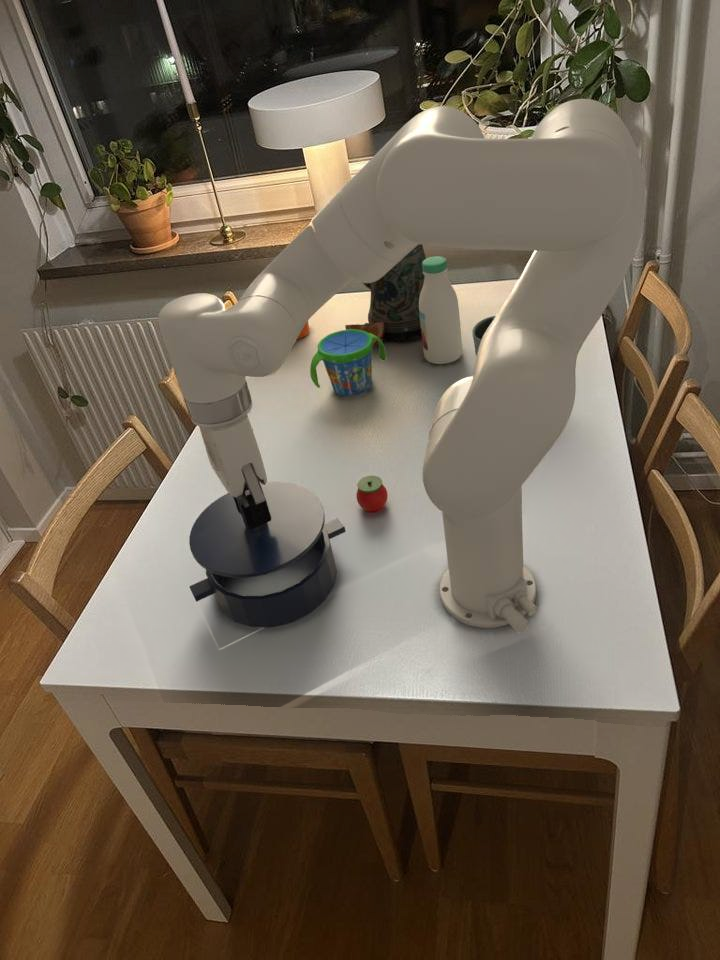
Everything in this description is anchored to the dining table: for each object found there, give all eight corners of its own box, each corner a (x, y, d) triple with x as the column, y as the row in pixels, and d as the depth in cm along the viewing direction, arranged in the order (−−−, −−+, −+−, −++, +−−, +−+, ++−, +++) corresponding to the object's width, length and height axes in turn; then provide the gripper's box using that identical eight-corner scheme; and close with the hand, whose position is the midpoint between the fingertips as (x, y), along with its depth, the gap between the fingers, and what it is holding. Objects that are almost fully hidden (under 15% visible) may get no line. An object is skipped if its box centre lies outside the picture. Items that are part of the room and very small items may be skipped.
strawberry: (395, 511, 114) (390, 482, 110) (368, 523, 112) (362, 495, 109) (380, 495, 117) (375, 467, 114) (354, 507, 116) (348, 479, 112)
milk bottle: (469, 349, 149) (462, 253, 137) (451, 367, 144) (442, 270, 132) (435, 343, 153) (425, 250, 141) (417, 361, 148) (405, 267, 136)
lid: (349, 539, 96) (340, 497, 91) (219, 603, 90) (202, 561, 86) (291, 471, 109) (280, 432, 105) (174, 523, 103) (158, 484, 99)
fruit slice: (346, 352, 156) (342, 331, 153) (352, 337, 161) (348, 316, 158) (385, 350, 154) (381, 328, 151) (389, 335, 159) (386, 313, 156)
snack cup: (378, 364, 150) (371, 319, 144) (400, 386, 142) (393, 339, 136) (307, 389, 147) (296, 344, 141) (326, 413, 139) (315, 366, 133)
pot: (375, 583, 102) (368, 553, 99) (222, 659, 96) (209, 629, 92) (322, 517, 115) (315, 488, 112) (185, 580, 109) (172, 551, 105)
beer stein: (447, 338, 154) (436, 219, 139) (355, 350, 157) (335, 234, 141) (442, 304, 167) (431, 192, 152) (357, 315, 170) (338, 206, 154)
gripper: (169, 383, 92) (209, 496, 103) (210, 443, 80) (250, 564, 91) (225, 362, 94) (258, 475, 105) (273, 418, 82) (305, 538, 93)
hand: (254, 515), depth 98 cm, fingers closed on lid, 3 cm apart
